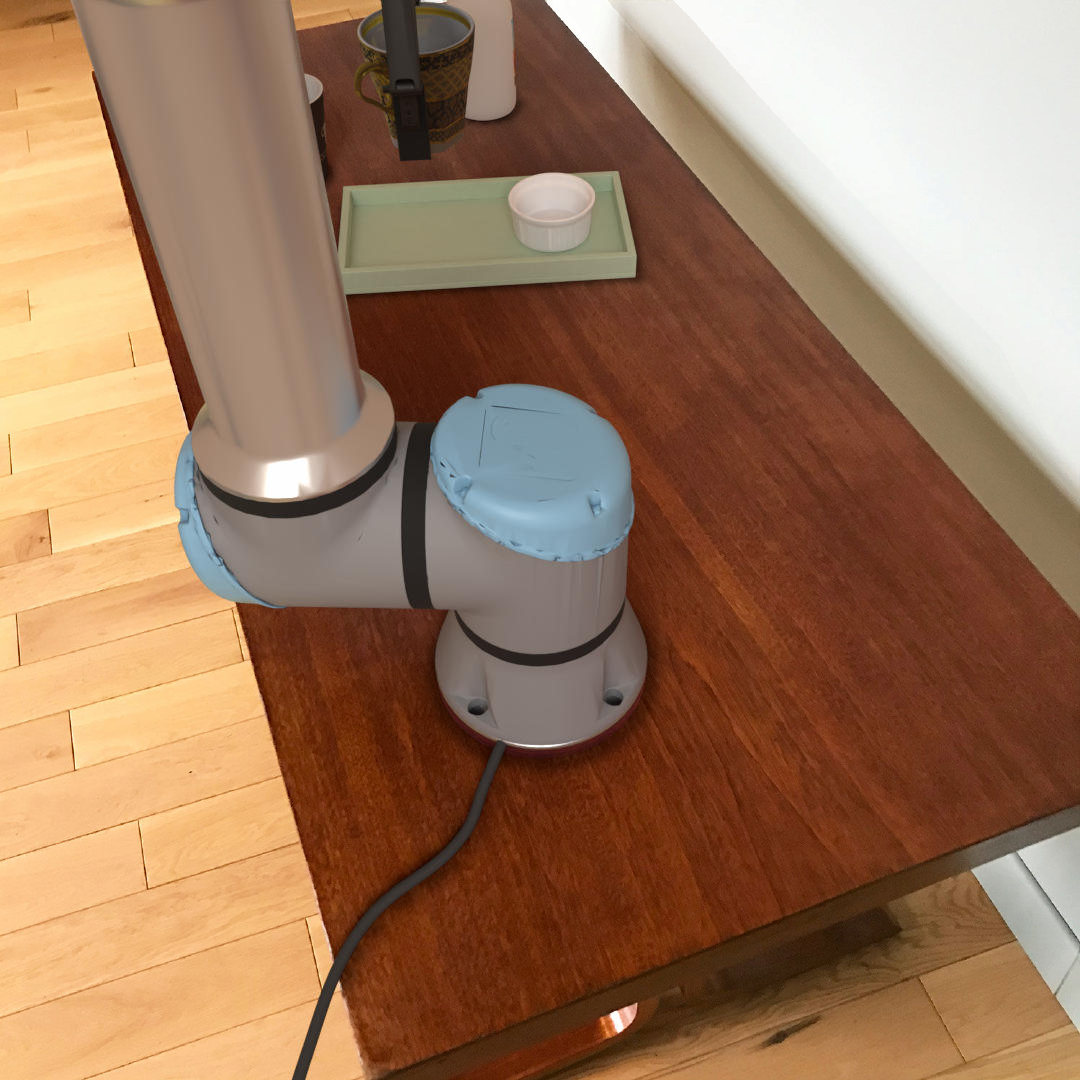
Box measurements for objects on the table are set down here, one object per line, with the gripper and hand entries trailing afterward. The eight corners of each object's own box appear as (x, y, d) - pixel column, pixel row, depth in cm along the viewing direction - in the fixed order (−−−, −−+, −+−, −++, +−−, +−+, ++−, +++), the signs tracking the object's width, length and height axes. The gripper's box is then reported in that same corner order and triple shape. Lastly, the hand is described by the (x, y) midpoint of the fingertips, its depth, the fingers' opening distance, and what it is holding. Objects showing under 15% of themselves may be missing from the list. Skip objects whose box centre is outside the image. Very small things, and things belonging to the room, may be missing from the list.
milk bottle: (515, 122, 132) (508, -56, 117) (450, 123, 132) (435, -55, 117) (517, 90, 137) (511, -85, 122) (455, 91, 137) (440, -84, 122)
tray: (635, 277, 112) (636, 255, 110) (340, 295, 111) (336, 273, 109) (617, 192, 122) (618, 170, 120) (346, 207, 121) (343, 186, 119)
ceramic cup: (420, 98, 107) (409, -9, 99) (503, 128, 103) (498, 19, 95) (327, 158, 100) (307, 48, 92) (412, 193, 96) (398, 81, 88)
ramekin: (569, 266, 112) (569, 229, 109) (493, 242, 115) (491, 205, 112) (609, 222, 117) (610, 185, 114) (536, 200, 120) (535, 163, 117)
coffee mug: (323, 201, 122) (307, 115, 114) (249, 193, 123) (228, 108, 116) (355, 146, 129) (342, 62, 122) (285, 139, 131) (268, 56, 123)
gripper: (436, -92, 77) (460, 193, 94) (433, -201, 91) (455, 62, 108) (326, -86, 76) (370, 198, 93) (342, -197, 91) (377, 66, 108)
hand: (415, 125), depth 101 cm, fingers closed on ceramic cup, 10 cm apart
